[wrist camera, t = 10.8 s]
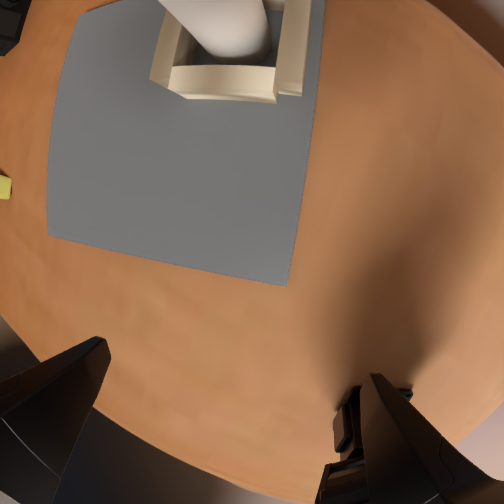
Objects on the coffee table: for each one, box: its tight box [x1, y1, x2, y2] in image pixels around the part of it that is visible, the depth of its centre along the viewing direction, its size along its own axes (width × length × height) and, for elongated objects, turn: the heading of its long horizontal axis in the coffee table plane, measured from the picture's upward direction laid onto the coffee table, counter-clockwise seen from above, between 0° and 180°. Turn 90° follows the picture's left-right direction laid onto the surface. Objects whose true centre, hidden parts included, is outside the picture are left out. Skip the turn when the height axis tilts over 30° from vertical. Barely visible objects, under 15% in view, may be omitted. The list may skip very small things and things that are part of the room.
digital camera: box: [0, 0, 31, 56], centre depth 14 cm, size 10×5×7 cm, turn 4°
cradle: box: [149, 0, 312, 104], centre depth 14 cm, size 9×9×3 cm
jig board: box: [47, 0, 325, 287], centre depth 18 cm, size 23×23×1 cm
